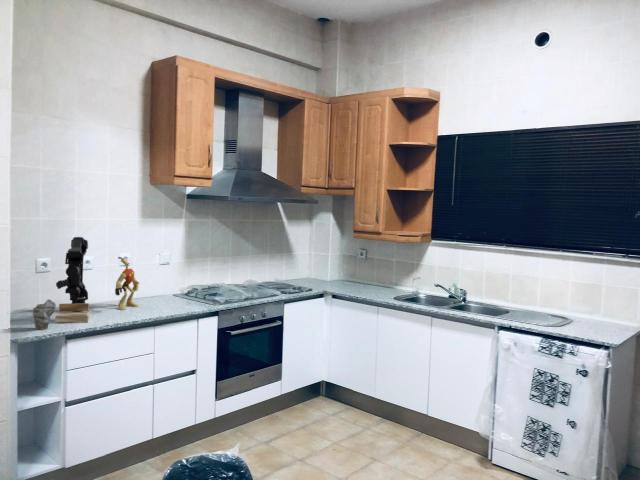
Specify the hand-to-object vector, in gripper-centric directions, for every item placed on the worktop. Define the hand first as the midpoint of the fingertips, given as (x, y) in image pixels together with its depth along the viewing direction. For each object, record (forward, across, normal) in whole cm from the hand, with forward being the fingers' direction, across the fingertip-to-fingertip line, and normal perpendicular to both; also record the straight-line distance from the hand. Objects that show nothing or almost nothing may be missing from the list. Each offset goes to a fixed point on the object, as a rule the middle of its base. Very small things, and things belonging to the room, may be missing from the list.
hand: (74, 303), depth 280 cm
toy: (+8, -25, +25) cm, 36 cm away
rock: (+8, +20, -11) cm, 24 cm away
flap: (+2, 0, 0) cm, 2 cm away
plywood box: (+8, +5, 0) cm, 9 cm away
